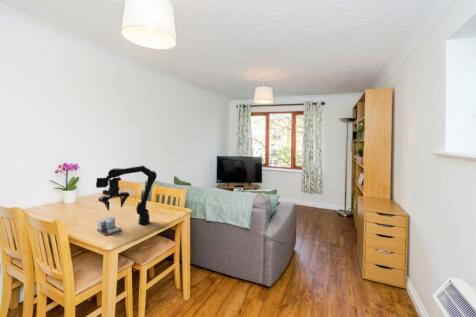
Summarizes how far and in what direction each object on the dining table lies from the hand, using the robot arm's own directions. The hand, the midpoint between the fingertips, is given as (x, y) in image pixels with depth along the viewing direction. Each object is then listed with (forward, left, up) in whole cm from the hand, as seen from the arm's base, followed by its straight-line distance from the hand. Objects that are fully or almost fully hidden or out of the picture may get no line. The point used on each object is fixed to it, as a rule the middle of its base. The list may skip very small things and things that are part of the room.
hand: (115, 208), depth 161 cm
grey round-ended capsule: (+6, +6, -12) cm, 14 cm away
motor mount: (+6, +4, -13) cm, 15 cm away
